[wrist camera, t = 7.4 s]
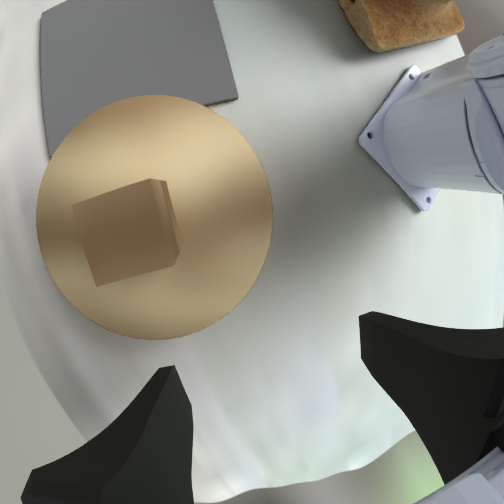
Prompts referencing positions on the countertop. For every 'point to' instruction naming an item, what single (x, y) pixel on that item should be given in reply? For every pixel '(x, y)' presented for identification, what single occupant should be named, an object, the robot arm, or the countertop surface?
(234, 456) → the countertop surface
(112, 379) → the countertop surface
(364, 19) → the stone cup
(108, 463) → the robot arm
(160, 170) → the oak lid
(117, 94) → the charcoal mat
